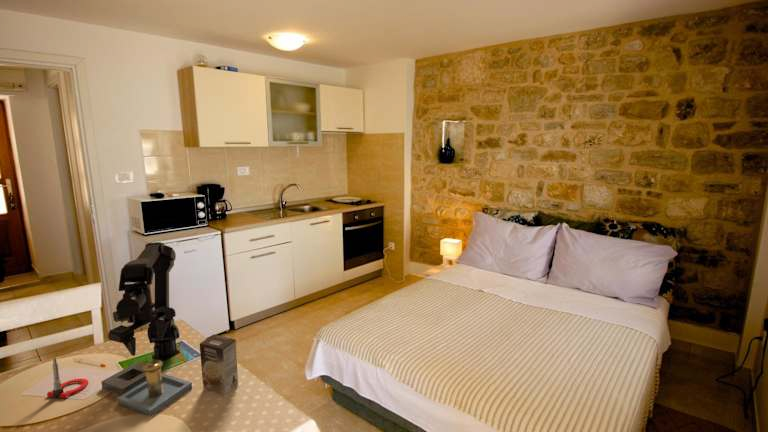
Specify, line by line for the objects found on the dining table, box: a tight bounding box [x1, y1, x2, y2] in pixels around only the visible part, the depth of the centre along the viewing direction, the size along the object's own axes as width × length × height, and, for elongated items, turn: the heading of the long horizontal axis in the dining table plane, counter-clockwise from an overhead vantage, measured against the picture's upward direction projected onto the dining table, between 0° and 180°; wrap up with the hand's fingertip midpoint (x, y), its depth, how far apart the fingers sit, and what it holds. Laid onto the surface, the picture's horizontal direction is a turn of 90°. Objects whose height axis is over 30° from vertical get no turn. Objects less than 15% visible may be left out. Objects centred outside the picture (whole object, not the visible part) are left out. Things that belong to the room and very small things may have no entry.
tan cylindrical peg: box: [143, 359, 163, 398], centre depth 117 cm, size 5×5×10 cm
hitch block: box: [101, 361, 147, 396], centre depth 125 cm, size 12×10×2 cm
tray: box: [116, 372, 193, 417], centre depth 118 cm, size 14×14×2 cm
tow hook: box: [46, 356, 89, 400], centre depth 120 cm, size 8×13×9 cm
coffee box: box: [199, 333, 239, 396], centre depth 121 cm, size 9×6×16 cm
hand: (147, 347), depth 122 cm, fingers open, 9 cm apart
